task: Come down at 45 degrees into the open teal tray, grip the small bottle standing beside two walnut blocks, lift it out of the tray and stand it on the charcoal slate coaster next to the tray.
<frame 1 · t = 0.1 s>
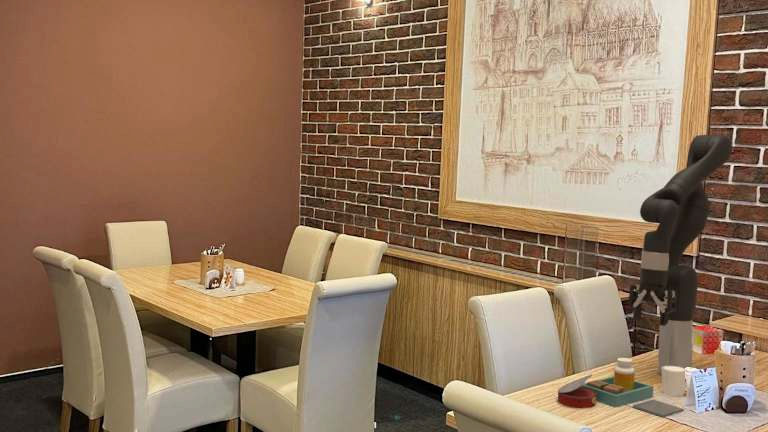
hand: (650, 322, 218), 17 cm above the table, tool pointing down, fingers open, 8 cm apart
coaster: (657, 409, 194), on the table
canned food: (576, 403, 199), on the table
cream cylinder: (673, 393, 208), on the table
walnut block a: (597, 397, 204), resting in teal tray
puzzle cube: (704, 351, 256), on the table
supplement bottle: (623, 394, 206), resting in teal tray
teal tray: (616, 395, 205), on the table
walnut block b: (613, 401, 200), resting in teal tray
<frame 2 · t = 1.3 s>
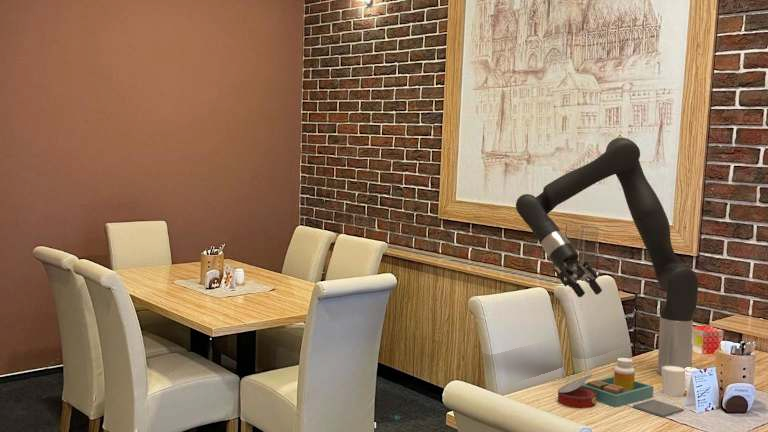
hand: (591, 294, 213), 26 cm above the table, tool tilted 45°, fingers open, 8 cm apart
nothing on the table moved.
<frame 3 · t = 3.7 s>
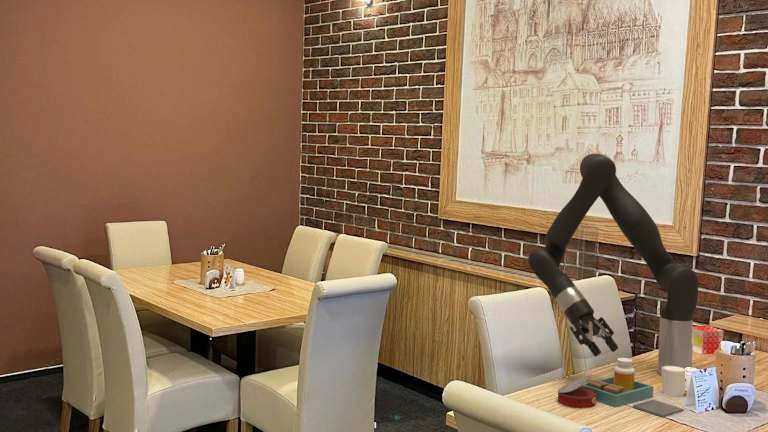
hand: (607, 352, 210), 10 cm above the table, tool tilted 45°, fingers open, 8 cm apart
nothing on the table moved.
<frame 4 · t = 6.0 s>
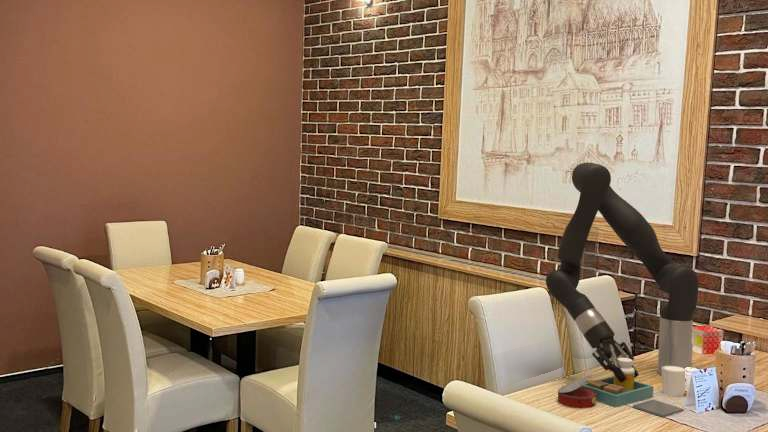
hand: (630, 378, 205), 5 cm above the table, tool tilted 45°, fingers closed on supplement bottle, 5 cm apart
supplement bottle: (623, 394, 206), resting in teal tray, touching gripper
everything else where it was.
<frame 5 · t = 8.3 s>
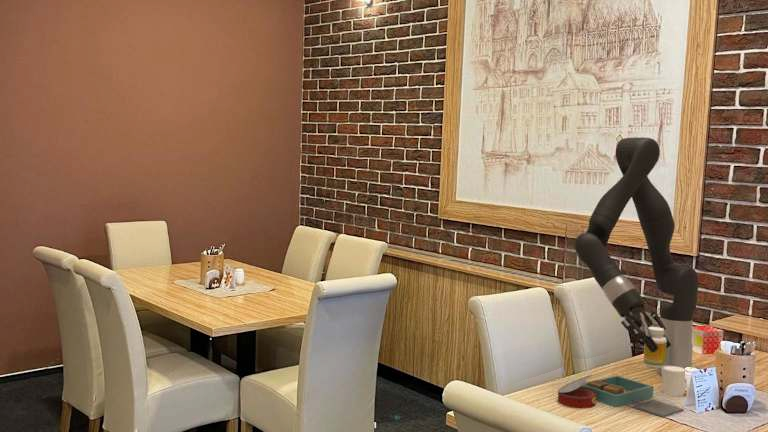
hand: (661, 348, 193), 16 cm above the table, tool tilted 45°, fingers closed on supplement bottle, 5 cm apart
supplement bottle: (654, 365, 195), point 11 cm above the table, touching gripper
everything else where it was.
when the fingers open (7 cm above the table, at t = 10.7 s): supplement bottle drops 1 cm, resting on coaster.
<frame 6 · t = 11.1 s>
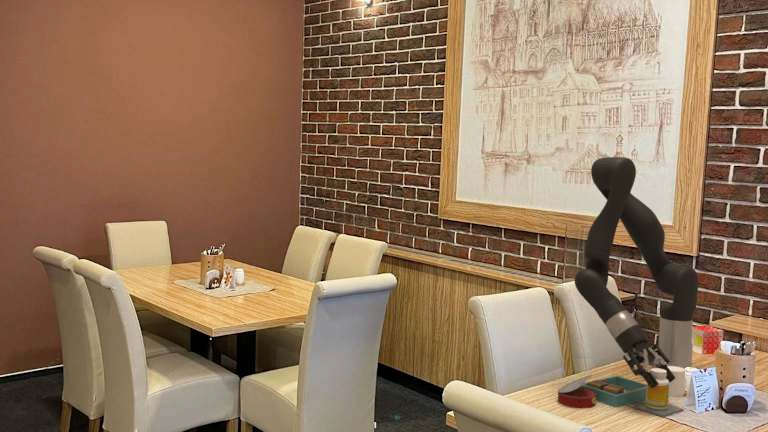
hand: (664, 383, 193), 7 cm above the table, tool tilted 45°, fingers open, 8 cm apart
supplement bottle: (656, 407, 194), resting on coaster
everything else where it was.
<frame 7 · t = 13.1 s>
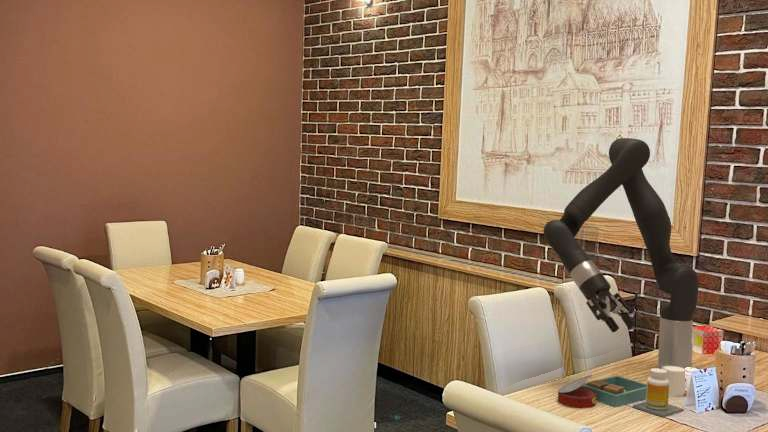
hand: (624, 328, 201), 19 cm above the table, tool tilted 45°, fingers open, 8 cm apart
nothing on the table moved.
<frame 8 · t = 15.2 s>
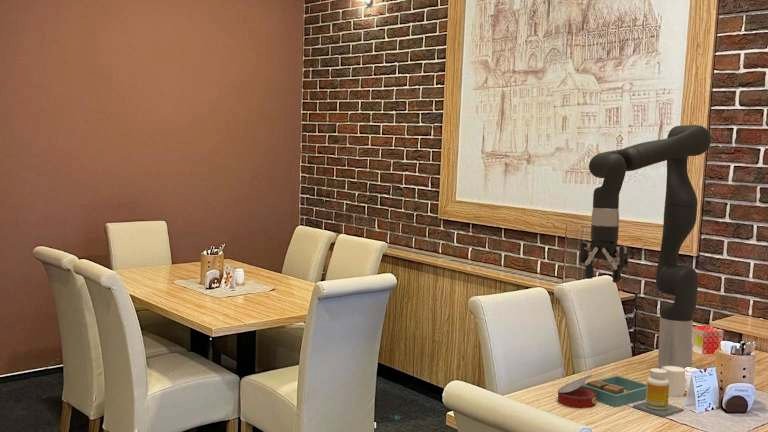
hand: (602, 280, 213), 30 cm above the table, tool pointing down, fingers open, 8 cm apart
nothing on the table moved.
at the end: supplement bottle inside the target area on the coaster (0.3 cm from its centre), point 0.4 cm above the coaster's base; supplement bottle tilted 0°; the gripper is holding nothing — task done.
